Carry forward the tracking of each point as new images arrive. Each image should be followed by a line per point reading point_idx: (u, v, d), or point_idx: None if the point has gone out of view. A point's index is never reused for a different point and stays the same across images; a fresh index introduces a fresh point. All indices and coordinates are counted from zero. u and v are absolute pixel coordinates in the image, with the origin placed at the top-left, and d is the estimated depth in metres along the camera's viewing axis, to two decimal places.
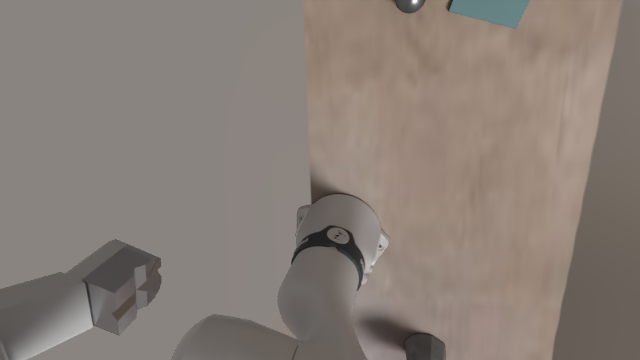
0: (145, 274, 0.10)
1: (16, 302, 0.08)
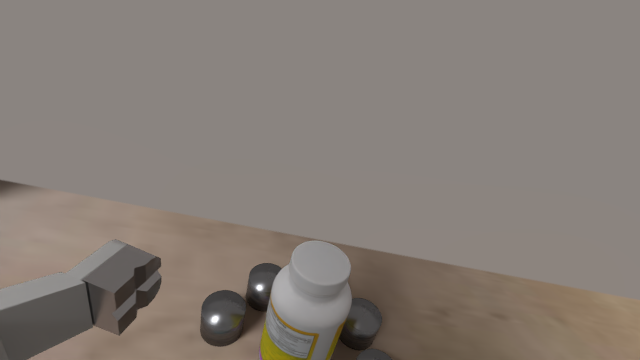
0: (145, 274, 0.10)
1: (16, 302, 0.08)
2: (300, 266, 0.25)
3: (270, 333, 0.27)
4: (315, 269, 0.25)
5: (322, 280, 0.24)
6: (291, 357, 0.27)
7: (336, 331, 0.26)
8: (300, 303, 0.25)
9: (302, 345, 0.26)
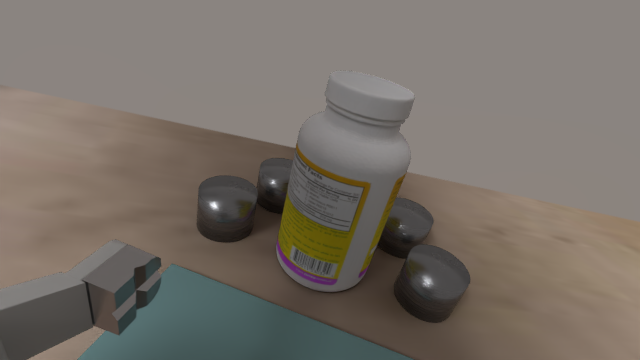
0: (145, 274, 0.10)
1: (16, 303, 0.08)
2: (344, 81, 0.17)
3: (296, 201, 0.19)
4: (366, 86, 0.17)
5: (379, 94, 0.16)
6: (327, 230, 0.19)
7: (392, 189, 0.18)
8: (344, 138, 0.17)
9: (344, 205, 0.18)
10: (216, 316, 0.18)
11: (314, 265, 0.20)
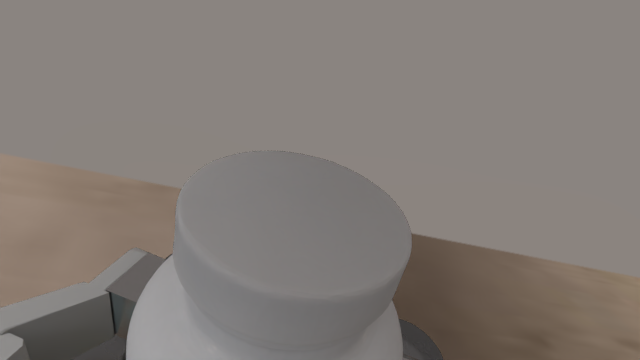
0: None
1: (42, 314, 0.07)
2: (206, 217, 0.06)
3: None
4: (271, 229, 0.06)
5: (297, 277, 0.05)
6: None
7: None
8: None
9: None
10: None
11: None
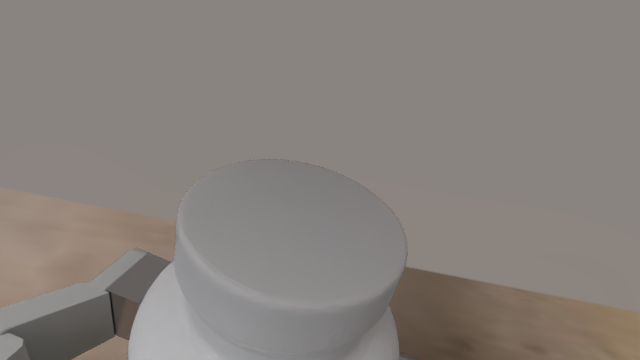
0: None
1: (42, 314, 0.07)
2: (206, 228, 0.06)
3: None
4: (270, 239, 0.06)
5: (294, 288, 0.05)
6: None
7: None
8: None
9: None
10: None
11: None
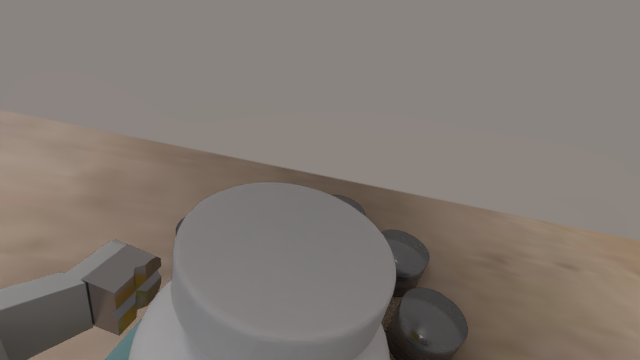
0: (145, 274, 0.10)
1: (16, 302, 0.08)
2: (202, 258, 0.06)
3: None
4: (262, 269, 0.06)
5: (284, 320, 0.05)
6: None
7: None
8: None
9: None
10: None
11: None
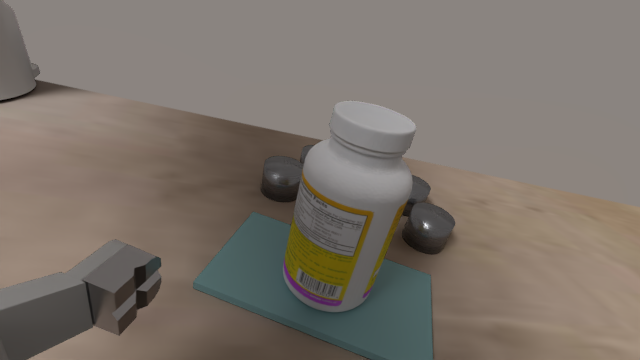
0: (145, 274, 0.10)
1: (16, 303, 0.08)
2: (348, 114, 0.18)
3: (301, 226, 0.20)
4: (369, 119, 0.18)
5: (381, 128, 0.17)
6: (332, 255, 0.19)
7: (394, 216, 0.19)
8: (348, 169, 0.18)
9: (348, 232, 0.18)
10: None
11: (319, 287, 0.21)
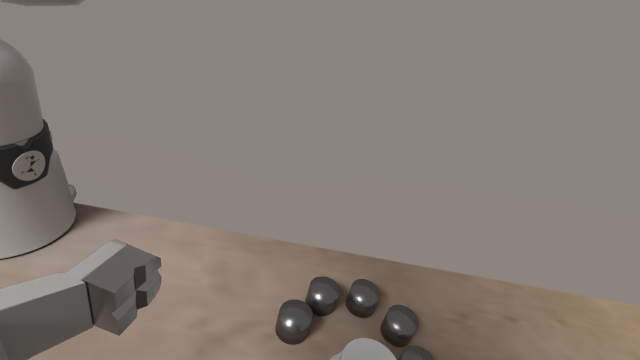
0: (145, 274, 0.10)
1: (16, 302, 0.08)
2: None
3: None
4: None
5: None
6: None
7: None
8: None
9: None
10: None
11: None
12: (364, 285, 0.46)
